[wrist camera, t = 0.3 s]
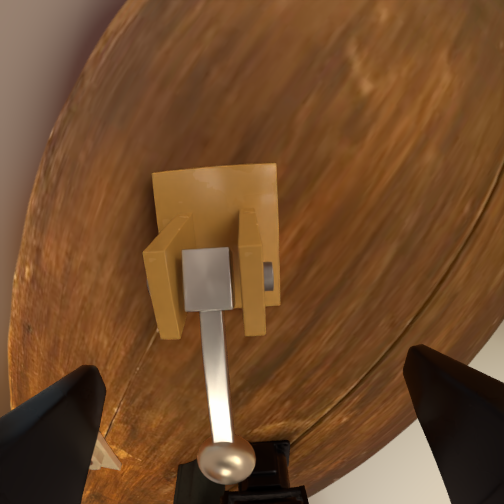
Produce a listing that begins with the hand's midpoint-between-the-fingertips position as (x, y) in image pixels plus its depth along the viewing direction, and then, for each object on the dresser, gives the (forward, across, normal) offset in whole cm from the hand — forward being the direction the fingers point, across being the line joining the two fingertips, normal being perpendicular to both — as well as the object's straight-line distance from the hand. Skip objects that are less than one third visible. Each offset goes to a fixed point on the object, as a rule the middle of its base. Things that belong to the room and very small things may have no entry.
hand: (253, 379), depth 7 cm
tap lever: (+7, +2, +6) cm, 9 cm away
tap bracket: (+14, +2, 0) cm, 14 cm away
